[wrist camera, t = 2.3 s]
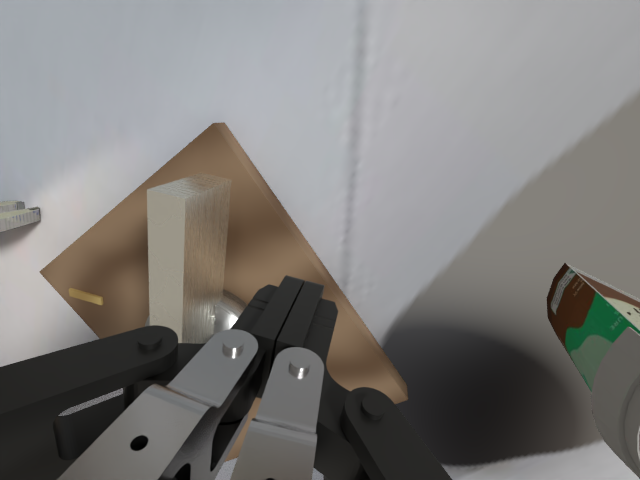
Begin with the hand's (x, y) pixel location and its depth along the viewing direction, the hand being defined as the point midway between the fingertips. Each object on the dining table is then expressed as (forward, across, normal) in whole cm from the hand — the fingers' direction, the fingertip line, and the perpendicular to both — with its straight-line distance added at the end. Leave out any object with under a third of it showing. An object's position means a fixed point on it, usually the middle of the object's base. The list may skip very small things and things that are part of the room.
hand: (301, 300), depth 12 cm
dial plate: (+11, +8, +12) cm, 18 cm away
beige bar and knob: (+9, +8, +7) cm, 14 cm away
